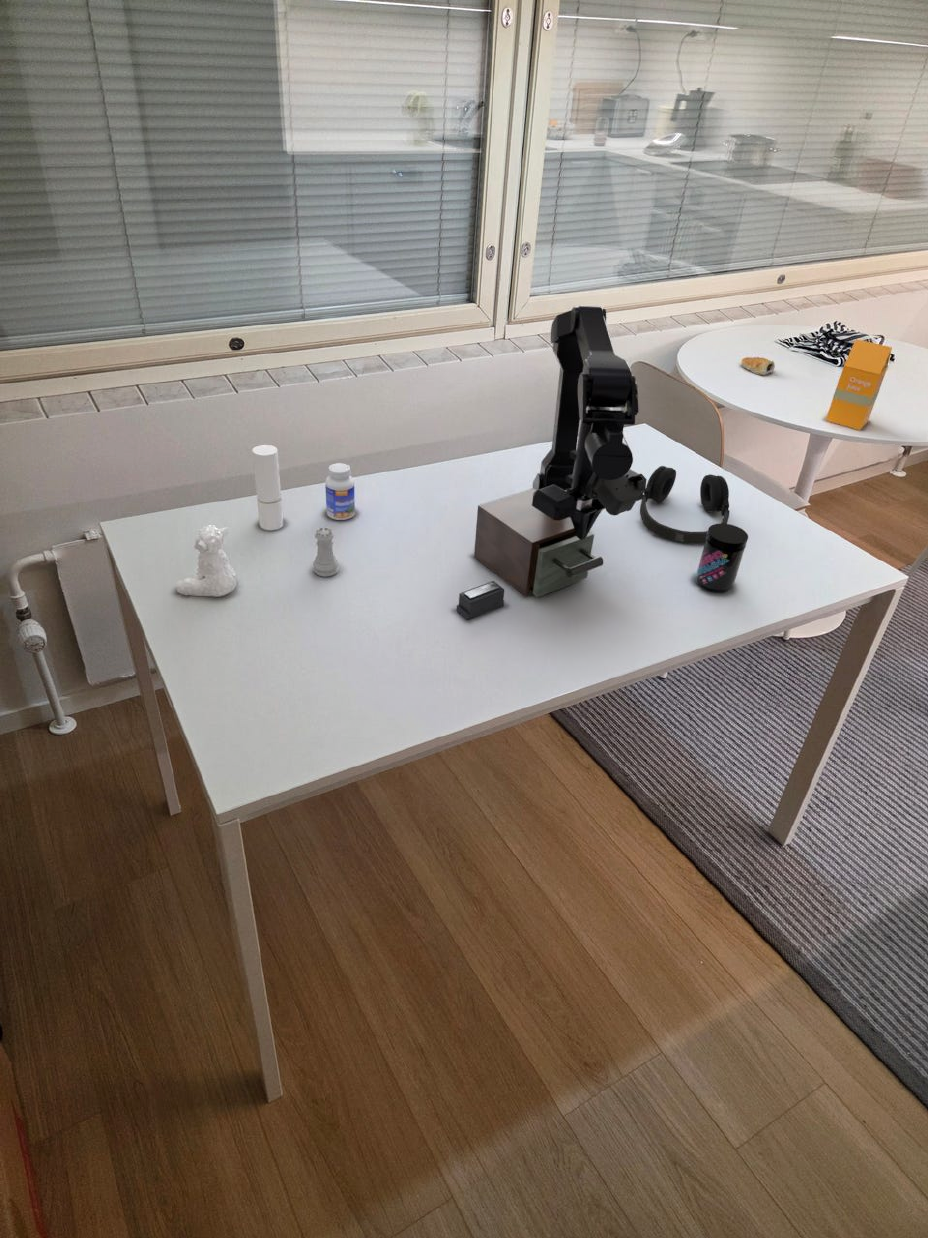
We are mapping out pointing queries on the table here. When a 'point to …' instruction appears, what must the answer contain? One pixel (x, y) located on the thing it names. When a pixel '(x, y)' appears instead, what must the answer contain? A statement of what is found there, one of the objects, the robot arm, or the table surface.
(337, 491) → the pill bottle
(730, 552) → the supplement container
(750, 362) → the pastry
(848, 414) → the orange juice
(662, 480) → the headphones
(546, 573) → the drawer
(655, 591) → the table surface
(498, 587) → the dark box
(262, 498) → the tube
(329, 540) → the rook chess piece
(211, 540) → the white creature statuette
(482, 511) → the cabinet
